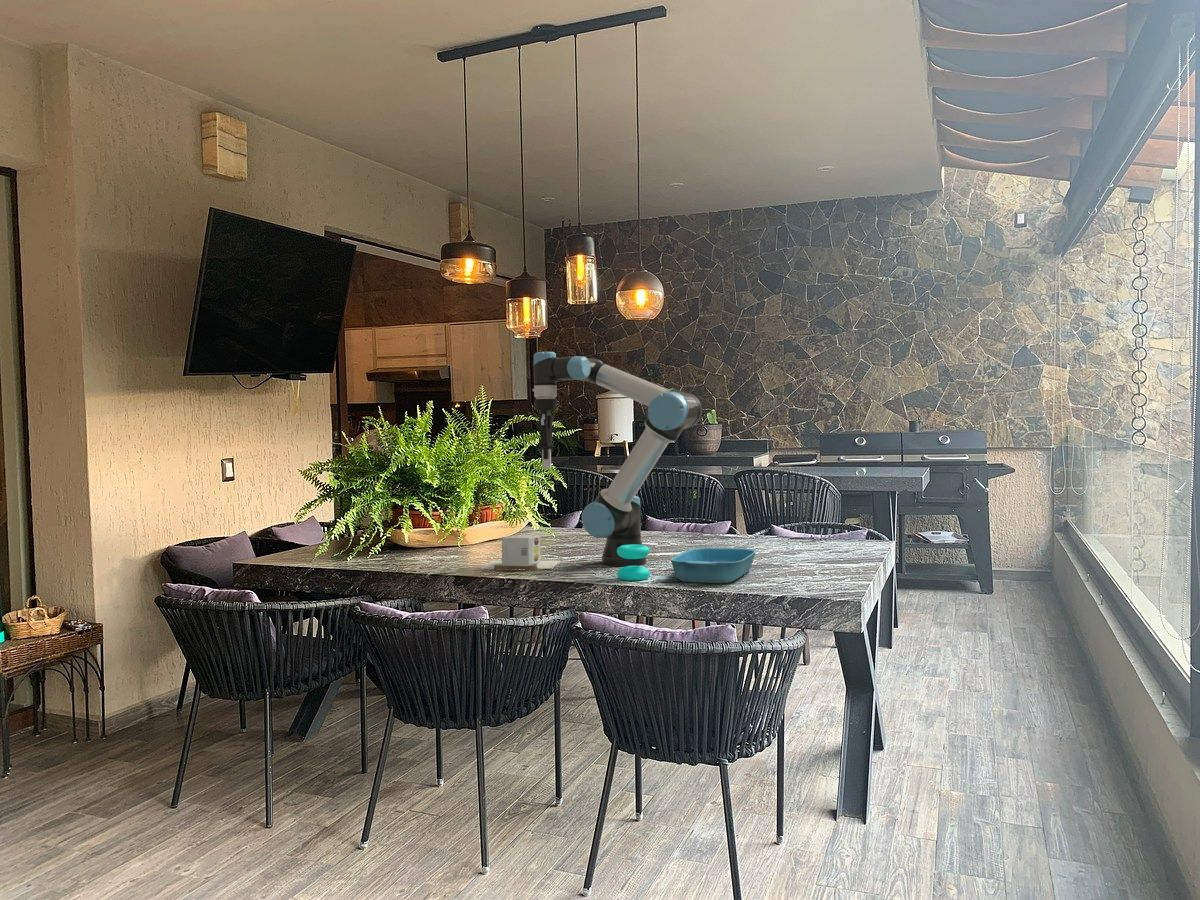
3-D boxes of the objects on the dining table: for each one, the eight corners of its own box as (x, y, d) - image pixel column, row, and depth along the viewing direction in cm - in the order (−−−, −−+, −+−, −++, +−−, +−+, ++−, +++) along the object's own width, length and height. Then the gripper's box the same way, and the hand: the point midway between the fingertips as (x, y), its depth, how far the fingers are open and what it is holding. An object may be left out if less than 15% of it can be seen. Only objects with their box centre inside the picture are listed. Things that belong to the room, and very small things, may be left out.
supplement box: (529, 537, 303) (541, 534, 320) (501, 536, 305) (514, 534, 321) (529, 567, 303) (540, 562, 319) (501, 566, 304) (514, 562, 321)
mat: (560, 562, 322) (560, 557, 322) (551, 570, 305) (551, 565, 305) (491, 562, 325) (491, 557, 325) (479, 570, 308) (479, 565, 308)
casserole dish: (694, 565, 311) (694, 544, 311) (761, 568, 304) (761, 546, 303) (662, 585, 277) (662, 561, 277) (737, 588, 269) (737, 563, 269)
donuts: (644, 548, 281) (612, 547, 284) (645, 582, 281) (613, 580, 284) (653, 544, 290) (622, 543, 293) (653, 576, 291) (622, 575, 294)
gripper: (538, 398, 321) (539, 467, 322) (530, 398, 308) (531, 470, 309) (559, 398, 320) (561, 467, 321) (553, 397, 307) (554, 469, 308)
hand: (546, 468), depth 315 cm, fingers closed
